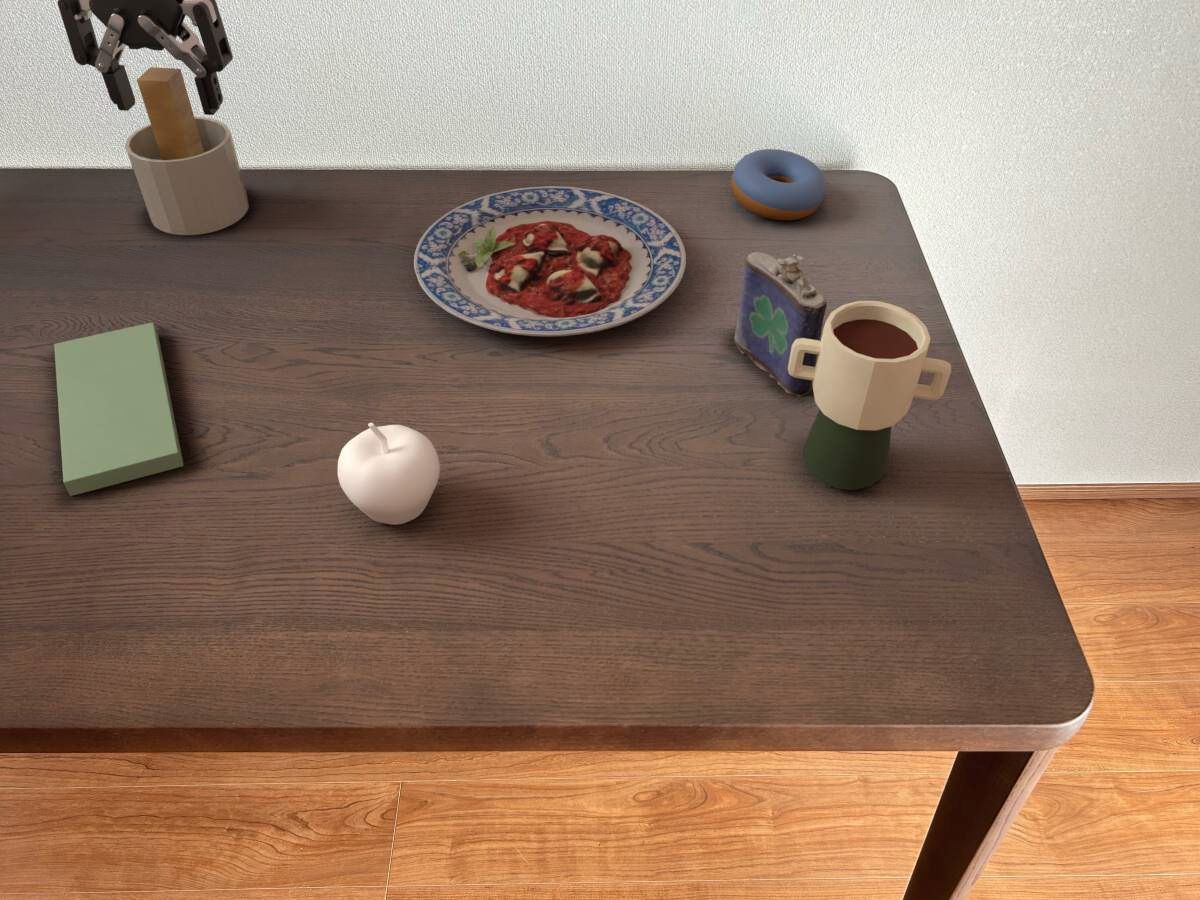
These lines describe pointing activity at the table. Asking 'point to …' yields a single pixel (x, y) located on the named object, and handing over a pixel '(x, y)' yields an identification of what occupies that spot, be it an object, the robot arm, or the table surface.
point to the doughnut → (778, 184)
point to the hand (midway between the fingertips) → (170, 109)
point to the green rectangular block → (114, 409)
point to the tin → (190, 181)
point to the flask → (778, 316)
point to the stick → (170, 113)
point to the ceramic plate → (549, 261)
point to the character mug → (863, 388)
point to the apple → (389, 472)
